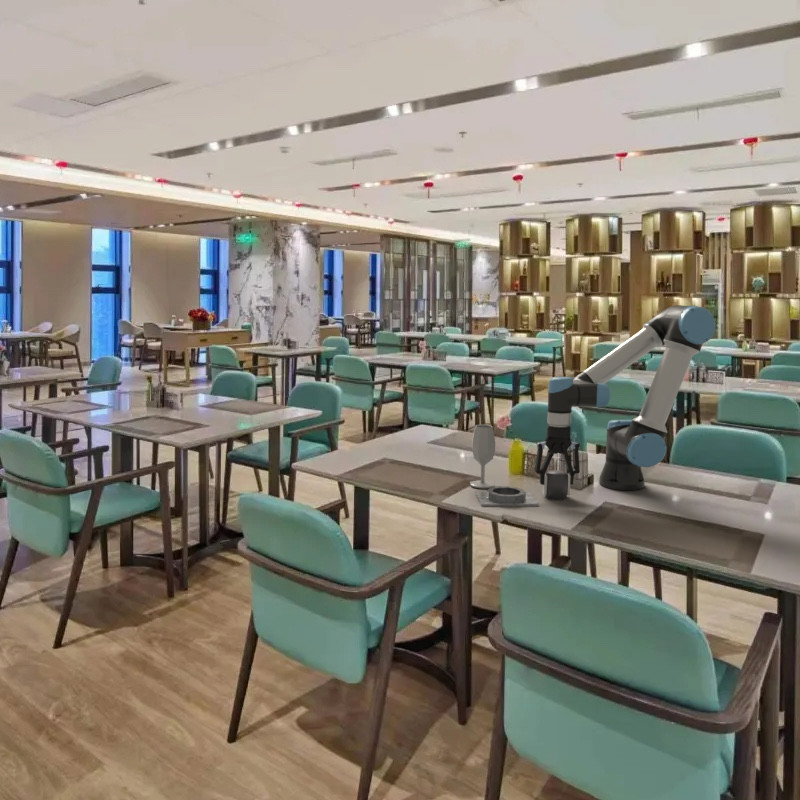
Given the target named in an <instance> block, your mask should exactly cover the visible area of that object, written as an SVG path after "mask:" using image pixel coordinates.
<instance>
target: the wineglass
mask: <svg viewBox="0 0 800 800" xmlns="http://www.w3.org/2000/svg"><path fill="white" fill-rule="evenodd" d="M471 450H472V455H473V459H474V460H475V461H476V462H477V463H478V464H480V480H472V481H469V483H470V487H473V488H474V489H475V488H476V489H484V490H485V489H487V490H488V489H490V488H492V487H496V485H495V482H494V481H490V480H485V476H486V474H485V472H486V465H488V464H489V463H490V462H491V461H492V460H493V459H494V456H495V453H496V437H495V431H494V428H493V426H492V425H490V424H475V427H474V429H473V434H472V439H471Z"/></svg>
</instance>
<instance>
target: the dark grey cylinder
mask: <svg viewBox="0 0 800 800" xmlns="http://www.w3.org/2000/svg"><path fill="white" fill-rule="evenodd" d="M545 474H546V475H547V495H544V497H545V498H546V499H547V500H550V501H551V500H552V501H564V500H567V498H568V495H567V482H568V474H569V472H568V473H567V472H566V471H564V470H557V469H556V470H555V469H554V470H547V471H546V473H545Z"/></svg>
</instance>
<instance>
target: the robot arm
mask: <svg viewBox="0 0 800 800" xmlns="http://www.w3.org/2000/svg"><path fill="white" fill-rule="evenodd" d="M716 325H717V324H716V320H715V318H714V316H713V314H712V312H710V310H708V309H707V308H705V307H703V306H699V305H698V306H697V305H681V304H679V305H673V306H669V307H667V308H665V309H664V310H662V311H660V312H658V314H656V315H655V316H653V317H652V318H650V319H649V320H648V321H646V322H645V323H643V325H642V329H641V330H639V331H638V332H636V333H635V334H633V335H632V336H630V337H629V338H628V339H627V340H625V341H623V342H622V343H621V344H620V345H618V346H617V347H616V348H614V349H613V350H611V351H610V352H609V353H607V354H606V355H604V356H603V357H601V358H600V359H599V360H598V361H596V362H595V363H593V364H592V365H591V366H589V367H588V368H587V369H585V370H584V371H582V372H581V373H579V374H578V375H576V376H571V377H569V376H553V377H551V378H550V379H549V381H548V390H547V393H548V394H547V417H546V418H547V421H546V423H547V424H548V425H547V426H546V438H545V441H541V442H540V441H538V442H536V448H537V451H536V457H535V464H534V469H533V470H534V472H535V473H536V474H539V483H540V485H542V491H541V492H542V494H543V496H545V495H547V475H546V472H548V468H549V466H550V463H551V460H552V458H553V456H554V455H556V454H560V455H562V457H563V459H564V463H565V466H566V469H567V471H568V482H567V496H570V495H571V486H573V485H574V476H575V475H577V474H579V473H580V471H581V470H580V456H579V451H580V450H579V449H580V447H581V446H580V444H579V443H578V442H577V441H575V442H574V441H572V440H571V432H572V431H571V429H572V427H571V426H570V425H571V424H572V412H573V410H572V408H574V407H579V408H580V407H581V408H582V407H584V408H585V407H586V408H587V407H591V408H592V407H594V408H598V407H599V408H601V407H607V405H609V402H610V400H611V391H610V387H609V386H608V384H606V383H607V382H609V381H610V380H612V379H613V378H614V377H616V376H617V375H619V374H621V372H623V371H624V370H626V369H627V368H628V367H630V366H631V365H632V364H634V363H635V362H637V361H638V360H640V359H641V358H643V357H644V356H646V355H647V354H648V353H650V352H651V351H652V350H654V349H655V348H662V347H663V346H665V349H664V352H663V353H662V357H661V358H660V361H659V364H658V367H657V369H656V371H655V374H654V376H653V379H652V382H651V383H650V386H649V389H648V392H647V395H646V396H645V399H644V401H643V405H642V407H641V410H640V412H639V415H638V416H636V417H634V418H632V419H611V420H609V421H608V422H607V428H606V440H605V441H606V447H605V463H604V465H603V467H602V470H601V471H600V475H599V478H598V481H599V483H598V484H599V485H600V486H602V487H605V488H607V489H612V490H617V491H637V490H642V489H644V488H645V476H644V473H643V470H642V468H652V467H654V466H657V465H659V463H661V462H662V461H663V459H664V458H665V456H666V454H667V445H666V442H665V439H666V436H667V434H668V430H667V428H666V423H667V422H668V421H667V420H668V419H669V415H670V413H671V410H672V408H673V405H674V403H675V401H676V398H677V396H678V393H679V391H680V389H681V387H682V383H683V381H684V379H685V376H686V374H687V372H688V369H689V366H690V363H691V361H692V359H693V356H695V355H697V354H699V353H700V352H701V349H702V347H703V345H704V344H705V343H707V342H709V341H710V340H711V339H712V338H713V336H714V334H715V332H716ZM545 447H547V452H546V456H545V457H544V458H545V459H544V461H543V459H542V458H543V455H544V454H543V452H544V449H545ZM569 448H571V449H572V461H573V462H571V460H570V457H569V452H568V449H569ZM542 461H543V463H542ZM572 463H573V465H572Z"/></svg>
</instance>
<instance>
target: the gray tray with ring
mask: <svg viewBox="0 0 800 800" xmlns="http://www.w3.org/2000/svg"><path fill="white" fill-rule="evenodd" d="M475 496H476V498H477V500H478V502H479V504H480V506H481V507H539V502H538V500H537V499H536V498H535V497H534V496H533V495H532V493H531V492H530V491H528V492H526V491H525V490H524V489H522V488H520V487H516V486H507V485H506V486H505V485H501V486H495V487H492V488H488V489H487V491H486V492H485V491H483V492H482V491H481V492H478V491H477V492H475Z"/></svg>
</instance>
